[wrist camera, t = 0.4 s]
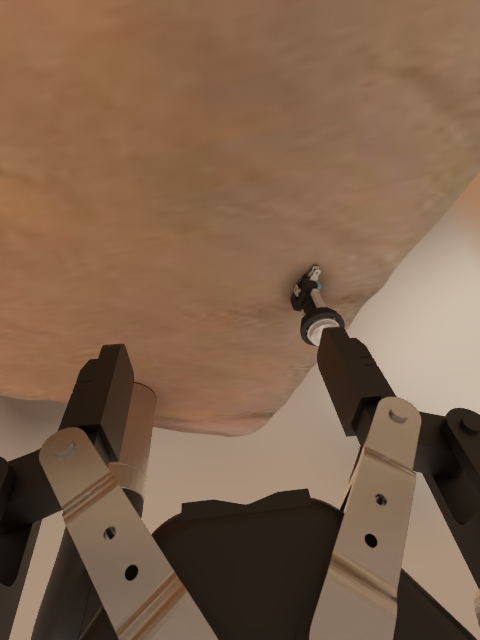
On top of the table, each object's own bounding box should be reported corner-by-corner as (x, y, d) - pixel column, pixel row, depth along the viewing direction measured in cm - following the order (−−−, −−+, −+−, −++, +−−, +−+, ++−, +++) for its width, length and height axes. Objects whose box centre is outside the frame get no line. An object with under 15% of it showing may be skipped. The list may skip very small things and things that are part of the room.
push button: (298, 260, 43) (319, 305, 35) (333, 268, 44) (361, 313, 36) (280, 299, 47) (296, 348, 39) (312, 306, 48) (334, 354, 40)
